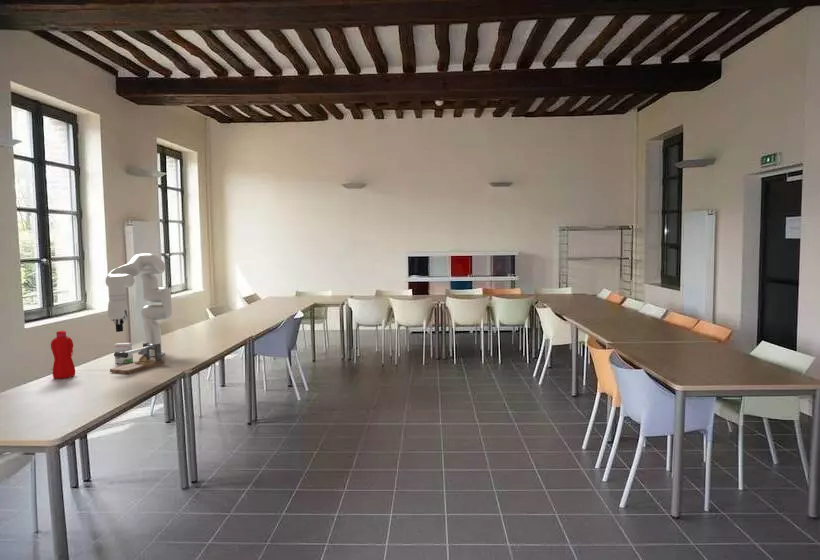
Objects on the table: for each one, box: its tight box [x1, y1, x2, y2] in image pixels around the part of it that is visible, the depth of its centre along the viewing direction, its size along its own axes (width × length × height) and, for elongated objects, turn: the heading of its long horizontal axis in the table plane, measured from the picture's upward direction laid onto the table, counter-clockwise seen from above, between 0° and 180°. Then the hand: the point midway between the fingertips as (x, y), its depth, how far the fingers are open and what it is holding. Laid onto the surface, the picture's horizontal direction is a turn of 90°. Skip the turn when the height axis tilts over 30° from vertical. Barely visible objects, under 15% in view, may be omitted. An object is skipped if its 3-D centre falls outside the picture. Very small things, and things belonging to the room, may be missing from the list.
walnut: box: [138, 355, 147, 362], centre depth 323 cm, size 4×4×4 cm
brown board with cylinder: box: [109, 342, 165, 375], centre depth 319 cm, size 13×26×12 cm, turn 160°
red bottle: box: [50, 330, 76, 380], centre depth 301 cm, size 9×11×25 cm
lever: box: [113, 344, 155, 358], centre depth 319 cm, size 25×7×4 cm, turn 160°
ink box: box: [113, 342, 134, 365], centre depth 333 cm, size 8×5×12 cm, turn 91°
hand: (119, 331), depth 308 cm, fingers closed
